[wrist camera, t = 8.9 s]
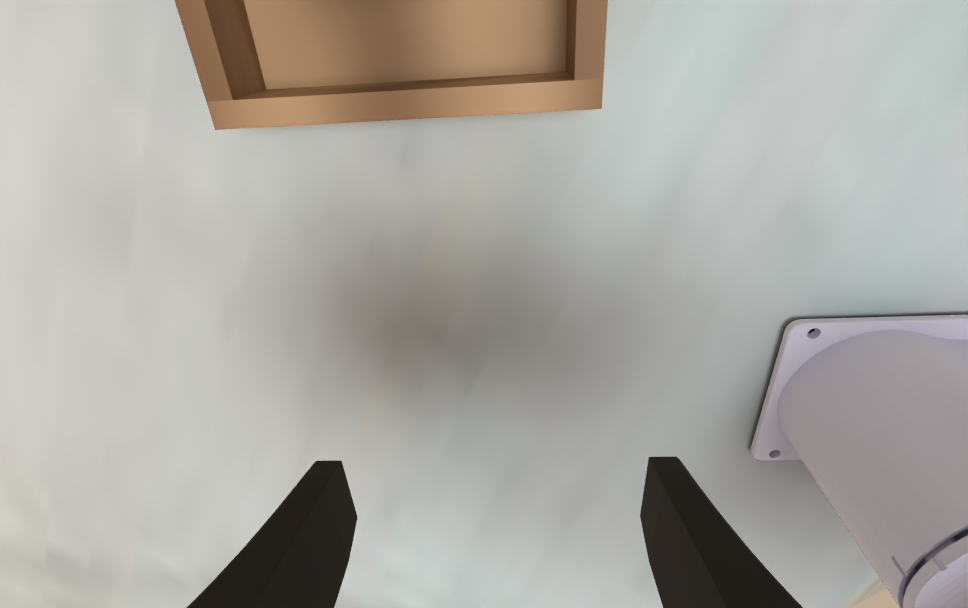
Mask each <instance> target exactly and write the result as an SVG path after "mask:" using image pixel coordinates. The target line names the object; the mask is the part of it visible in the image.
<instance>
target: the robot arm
mask: <svg viewBox="0 0 968 608" xmlns="http://www.w3.org/2000/svg"><path fill="white" fill-rule="evenodd" d="M814 328H815V330H814V331H813V332H811V333H808V332H809V331H810V330H811V329H814ZM807 333H808V334H807ZM773 450H774V451H773ZM751 453H752V455H753V457H754V458H755V459H757V460H761V461H773V460H802V461H803V463H804V464H805V466H806V467H807V469H808V470H809V472H810V473H811V475H812V476H813V478H814V479H815V481H816V482H817V484H818V485H819V487H820V488H821V490H822V491H823V493H824V494H825V496H826V497H827V499H828V500H829V502H830V504H831V505H832V507H833V508H834V510H835V511H836V513H837V514H838V516H839V517H840V519H841V520H842V522H843V523H844V525H845V526H846V528H847V529H848V531H849V532H850V534H851V535H852V537H853V538H854V540H855V541H856V543H857V544H858V546H859V547H860V549H861V550H862V552H863V553H864V555H865V556H866V558H867V559H868V561H869V562H870V564H871V565H872V567H873V568H874V570H875V571H876V573H877V574H878V576H879V577H880V579H881V580H882V582H883V583H884V585H885V586H886V588H887V589H888V591H889V592H890V594H891V595H892V597H893V598H894V600H895V601H896V603H897V604H898V606H899V607H900V608H968V315H935V316H899V317H863V318H828V319H799V320H795V321H793V322H791V323H790V324H789V325H787V327H786V329H785V332H784V335H783V339H782V342H781V345H780V349H779V352H778V356H777V359H776V363H775V366H774V370H773V373H772V377H771V380H770V384H769V387H768V390H767V394H766V397H765V401H764V404H763V408H762V411H761V415H760V418H759V422H758V425H757V429H756V432H755V435H754V439H753V442H752V446H751ZM640 517H641V522H642V527H643V533H644V538H645V543H646V548H647V553H648V558H649V562H650V566H651V569H652V572H653V575H654V579H655V582H656V585H657V588H658V592H659V595H660V598H661V601H662V605H663V608H803V607H802V606H801V605H800V604H799V603H798V602H797V601H796V600H795V599H794V598H793V597H792V596H791V595H790V594H789V593H788V592H787V591H786V589H785V588H784V587H783V586H782V585H781V584H780V583H779V582H778V581H777V580H776V579H775V577H774V576H773V575H772V574H771V573H770V572H769V571H768V570H767V569H766V568H765V566H764V565H763V564H762V563H761V562H760V561H759V560H758V559H757V557H756V556H755V555H754V554H753V553H752V552H751V550H750V549H749V548H748V547H747V546H746V545H745V543H744V542H743V541H742V540H741V538H740V537H739V536H738V535H737V534H736V532H735V531H734V530H733V529H732V528H731V526H730V525H729V524H728V523H727V522H726V520H725V519H724V518H723V517H722V515H721V514H720V513H719V512H718V510H717V509H716V508H715V506H714V505H713V504H712V503H711V501H710V500H709V499H708V497H707V496H706V495H705V493H704V492H703V491H702V489H701V488H700V487H699V485H698V484H697V483H696V481H695V480H694V479H693V477H692V476H691V475H690V473H689V472H688V470H687V469H686V468H685V466H684V465H683V463H682V462H681V461H680V460H679V459H678V458H677V457H649V461H648V467H647V474H646V481H645V487H644V494H643V501H642V507H641V514H640ZM356 521H357V514H356V511H355V507H354V504H353V500H352V497H351V493H350V489H349V486H348V482H347V479H346V475H345V472H344V468H343V465H342V461H316V462H315V463H314V464H313V465H312V466H311V467H310V469H309V470H308V471H307V472H306V474H305V475H304V476H303V477H302V479H301V480H300V481H299V482H298V484H297V485H296V486H295V487H294V489H293V490H292V491H291V492H290V494H289V495H288V496H287V497H286V499H285V500H284V501H283V502H282V503H281V505H280V506H279V507H278V508H277V509H276V511H275V512H274V513H273V514H272V516H271V517H270V518H269V519H268V520H267V521H266V523H265V524H264V525H263V526H262V527H261V528H260V530H259V531H258V532H257V533H256V534H255V535H254V537H253V538H252V539H251V540H250V541H249V542H248V544H247V545H246V546H245V547H244V548H243V549H242V550H241V551H240V552H239V554H238V555H237V556H236V557H235V558H234V559H233V560H232V561H231V562H230V563H229V564H228V565H227V567H226V568H225V569H224V570H223V571H222V572H221V573H220V574H219V575H218V576H217V577H216V578H215V580H214V581H213V582H212V583H211V584H210V585H209V586H208V587H207V588H206V589H205V590H204V591H203V592H202V593H201V594H200V595H199V596H198V597H197V598H196V599H195V600H194V601H193V602H192V603H191V604H190V605H189V606H188V607H187V608H334V606H335V603H336V600H337V597H338V593H339V590H340V587H341V584H342V581H343V578H344V574H345V571H346V568H347V565H348V561H349V557H350V552H351V547H352V542H353V537H354V532H355V526H356Z"/></svg>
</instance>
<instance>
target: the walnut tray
mask: <svg viewBox="0 0 968 608" xmlns="http://www.w3.org/2000/svg"><path fill="white" fill-rule="evenodd" d="M607 2H608V0H175V3H176V6H177V9H178V12H179V15H180V19H181V22H182V25H183V28H184V31H185V34H186V38H187V41H188V44H189V47H190V50H191V54H192V57H193V60H194V63H195V66H196V70H197V73H198V76H199V79H200V82H201V86H202V89H203V92H204V95H205V98H206V102H207V105H208V108H209V111H210V114H211V117H212V121H213V124H214V127H215V130H220V129H238V128H256V127H275V126H293V125H312V124H330V123H348V122H367V121H385V120H404V119H422V118H441V117H459V116H477V115H496V114H514V113H533V112H551V111H569V110H588V109H601V108H602V90H603V73H604V55H605V37H606V19H607Z"/></svg>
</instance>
